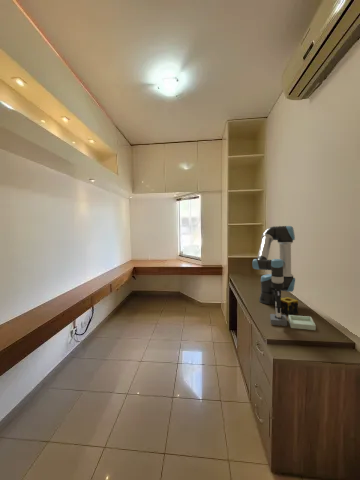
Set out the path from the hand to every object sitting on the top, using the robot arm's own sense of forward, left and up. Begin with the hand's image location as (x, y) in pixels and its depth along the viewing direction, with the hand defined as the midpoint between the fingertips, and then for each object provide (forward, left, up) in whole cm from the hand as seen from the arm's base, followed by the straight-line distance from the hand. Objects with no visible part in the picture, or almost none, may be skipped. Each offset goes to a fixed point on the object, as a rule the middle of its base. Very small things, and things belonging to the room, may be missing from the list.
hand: (278, 313), depth 155 cm
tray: (0, +14, -6) cm, 15 cm away
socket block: (0, 0, -6) cm, 6 cm away
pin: (0, 0, -6) cm, 6 cm away
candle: (-20, +8, -6) cm, 22 cm away
